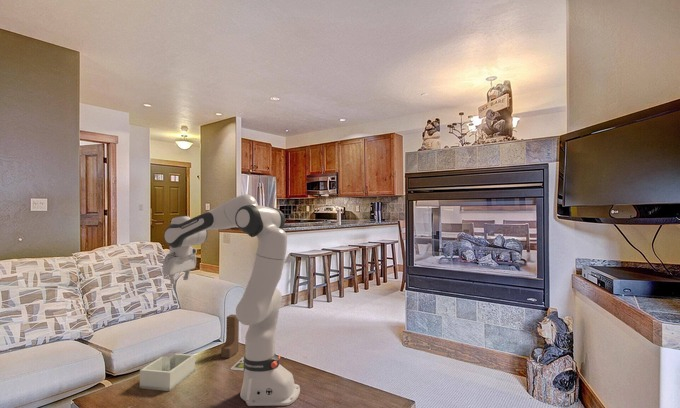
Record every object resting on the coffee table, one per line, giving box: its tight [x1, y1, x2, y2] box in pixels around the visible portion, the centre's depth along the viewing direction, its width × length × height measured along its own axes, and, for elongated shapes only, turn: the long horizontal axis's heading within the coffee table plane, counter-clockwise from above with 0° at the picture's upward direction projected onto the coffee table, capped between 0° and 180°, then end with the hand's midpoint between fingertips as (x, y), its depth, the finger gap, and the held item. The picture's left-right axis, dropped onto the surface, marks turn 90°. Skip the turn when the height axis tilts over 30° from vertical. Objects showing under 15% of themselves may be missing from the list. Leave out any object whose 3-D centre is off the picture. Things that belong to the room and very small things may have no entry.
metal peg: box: [161, 352, 176, 371], centre depth 144 cm, size 4×4×9 cm
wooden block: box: [220, 313, 240, 359], centre depth 170 cm, size 9×4×18 cm, turn 168°
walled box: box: [139, 353, 196, 392], centre depth 144 cm, size 13×17×7 cm
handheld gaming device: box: [230, 355, 245, 372], centre depth 160 cm, size 9×1×15 cm
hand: (179, 281), depth 159 cm, fingers open, 8 cm apart
